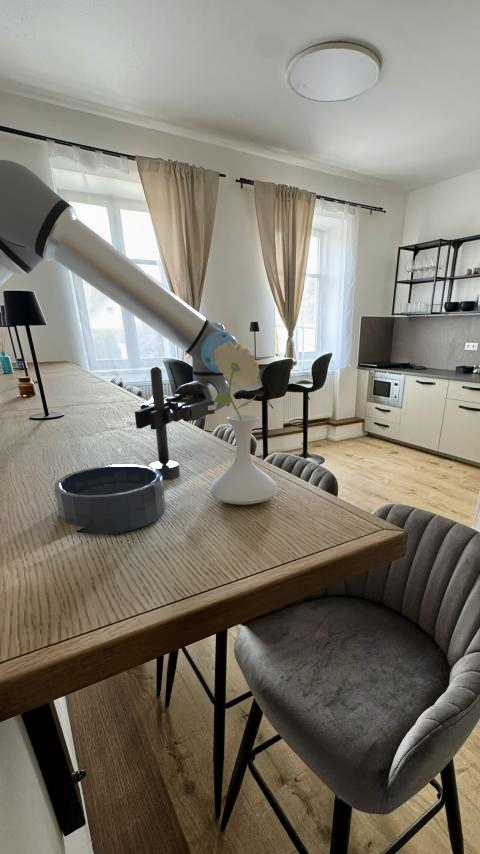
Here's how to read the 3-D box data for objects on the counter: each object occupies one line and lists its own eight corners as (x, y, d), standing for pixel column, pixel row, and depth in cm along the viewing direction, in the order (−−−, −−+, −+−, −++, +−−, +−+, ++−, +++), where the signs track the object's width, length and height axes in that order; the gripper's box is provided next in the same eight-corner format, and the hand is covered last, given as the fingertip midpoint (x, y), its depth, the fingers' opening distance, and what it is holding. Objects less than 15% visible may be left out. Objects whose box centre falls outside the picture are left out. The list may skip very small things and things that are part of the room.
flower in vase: (291, 500, 70) (294, 342, 60) (234, 517, 63) (229, 342, 54) (246, 480, 79) (244, 341, 70) (193, 493, 72) (182, 340, 63)
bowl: (39, 524, 59) (30, 485, 57) (117, 493, 72) (112, 460, 69) (113, 547, 54) (106, 504, 51) (184, 508, 66) (181, 472, 63)
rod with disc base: (144, 481, 75) (132, 366, 67) (164, 474, 79) (154, 365, 72) (167, 486, 73) (156, 368, 65) (185, 478, 77) (178, 366, 70)
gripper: (229, 419, 88) (190, 445, 67) (164, 416, 90) (105, 440, 69) (228, 383, 86) (187, 398, 64) (161, 381, 88) (99, 395, 66)
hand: (145, 420), depth 66 cm, fingers closed on rod with disc base, 2 cm apart
